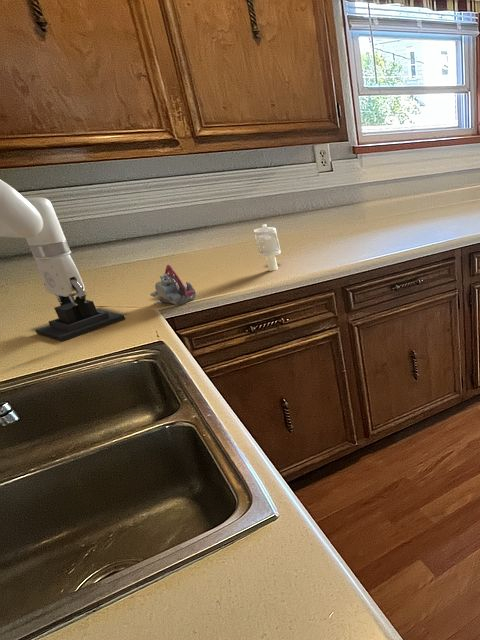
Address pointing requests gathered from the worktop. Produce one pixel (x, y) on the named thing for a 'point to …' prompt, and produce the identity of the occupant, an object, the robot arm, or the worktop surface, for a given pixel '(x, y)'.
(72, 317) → the top pad
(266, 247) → the white tall piece
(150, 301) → the worktop surface
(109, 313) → the base pad
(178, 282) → the grey creature figurine
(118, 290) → the worktop surface
